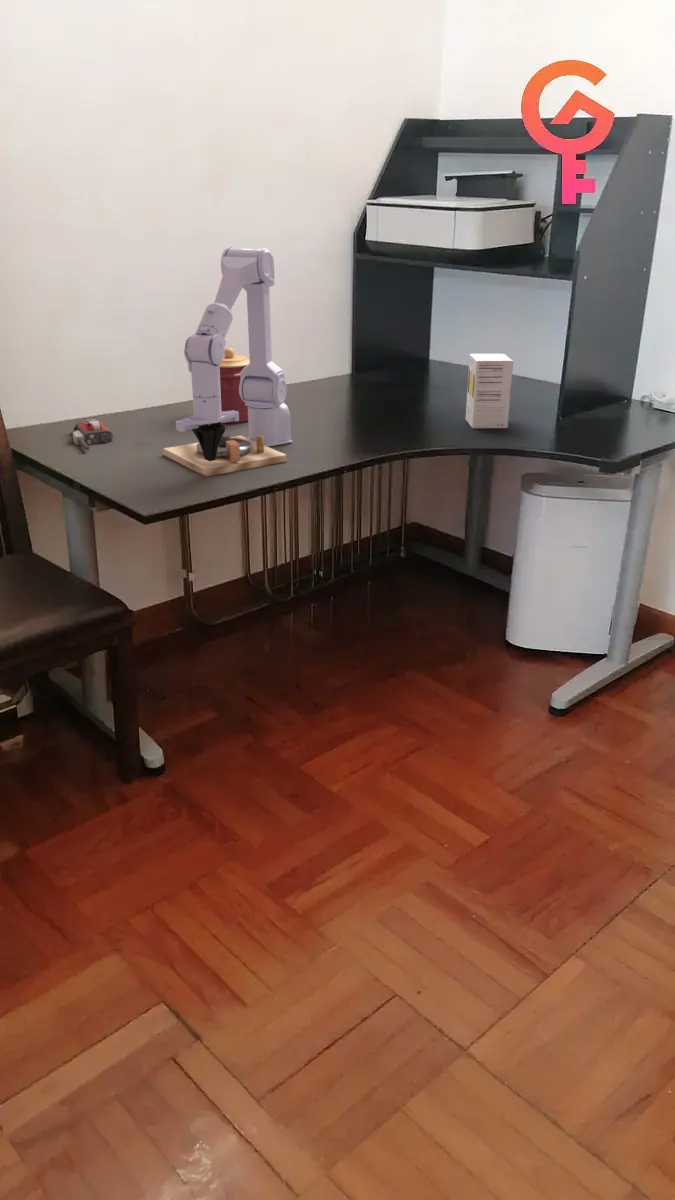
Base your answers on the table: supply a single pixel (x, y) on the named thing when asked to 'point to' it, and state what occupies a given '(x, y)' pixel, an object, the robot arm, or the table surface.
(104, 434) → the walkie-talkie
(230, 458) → the flange
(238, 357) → the canister
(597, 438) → the table surface
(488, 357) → the supplement box
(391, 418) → the table surface
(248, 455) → the base plate
